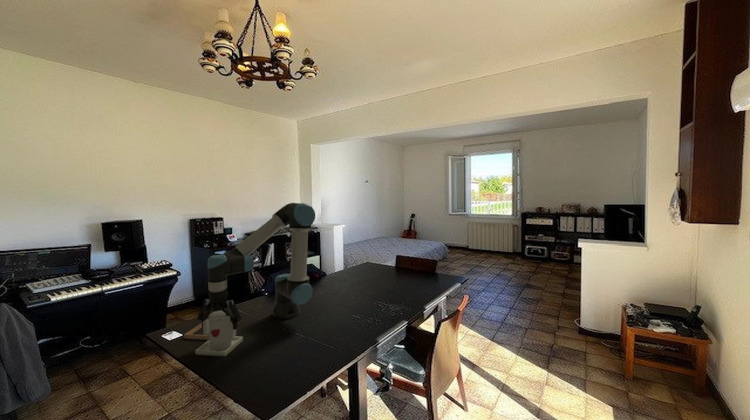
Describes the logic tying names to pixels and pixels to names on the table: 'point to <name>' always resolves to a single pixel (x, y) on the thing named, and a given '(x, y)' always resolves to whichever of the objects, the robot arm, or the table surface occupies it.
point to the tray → (205, 350)
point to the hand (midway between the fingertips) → (219, 335)
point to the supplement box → (219, 331)
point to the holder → (192, 336)
